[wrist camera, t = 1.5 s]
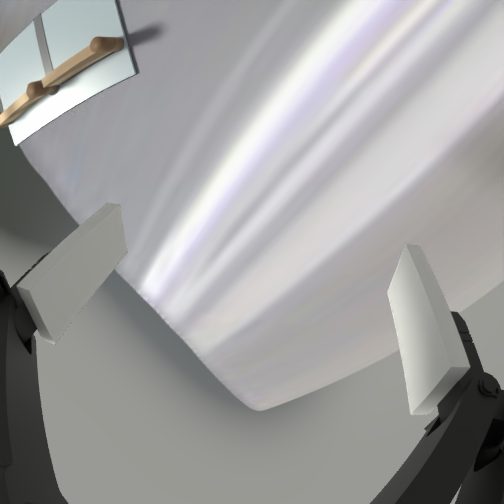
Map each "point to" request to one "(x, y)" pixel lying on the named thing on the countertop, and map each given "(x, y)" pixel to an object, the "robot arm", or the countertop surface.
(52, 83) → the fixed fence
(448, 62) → the countertop surface
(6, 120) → the tan wooden bar
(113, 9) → the card
